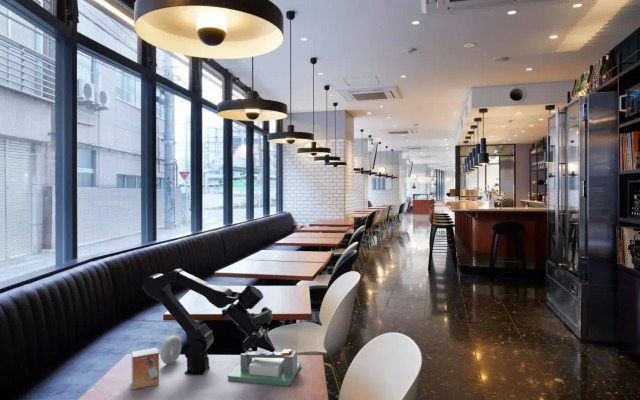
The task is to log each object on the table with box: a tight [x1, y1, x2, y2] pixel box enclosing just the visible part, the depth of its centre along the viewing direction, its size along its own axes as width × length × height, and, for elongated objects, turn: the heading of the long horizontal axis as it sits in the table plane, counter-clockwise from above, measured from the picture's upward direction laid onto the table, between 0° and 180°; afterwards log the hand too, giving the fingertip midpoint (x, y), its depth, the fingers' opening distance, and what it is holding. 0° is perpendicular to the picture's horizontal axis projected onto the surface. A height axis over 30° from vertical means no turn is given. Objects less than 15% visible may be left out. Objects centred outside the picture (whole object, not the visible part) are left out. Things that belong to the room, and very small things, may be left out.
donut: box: [159, 335, 182, 365], centre depth 150 cm, size 10×4×10 cm, turn 164°
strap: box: [244, 348, 292, 359], centre depth 141 cm, size 17×3×2 cm, turn 78°
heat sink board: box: [227, 348, 302, 387], centre depth 141 cm, size 21×15×8 cm
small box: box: [131, 347, 160, 390], centre depth 134 cm, size 8×6×10 cm
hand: (274, 351), depth 140 cm, fingers closed
